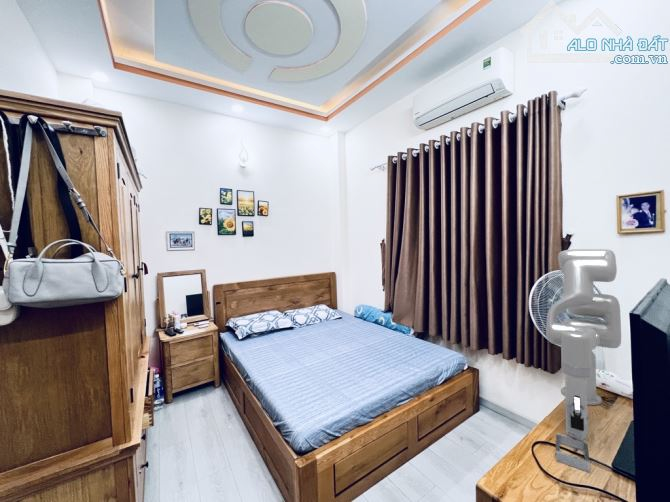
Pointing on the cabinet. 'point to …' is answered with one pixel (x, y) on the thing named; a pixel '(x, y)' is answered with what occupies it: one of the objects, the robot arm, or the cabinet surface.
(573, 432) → the skincare box
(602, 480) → the cabinet surface
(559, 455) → the socket collar
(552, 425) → the cabinet surface
